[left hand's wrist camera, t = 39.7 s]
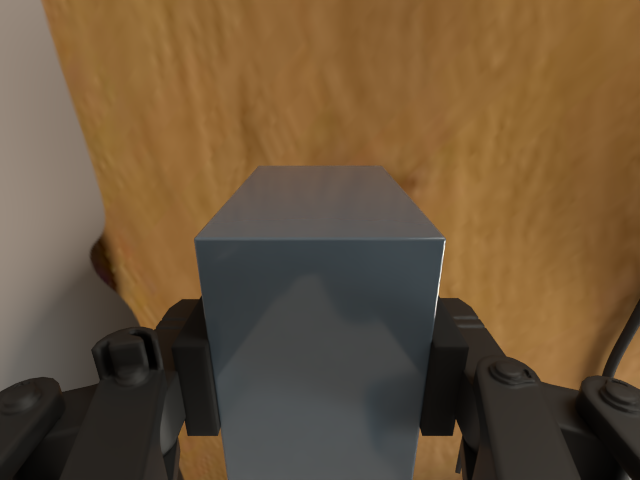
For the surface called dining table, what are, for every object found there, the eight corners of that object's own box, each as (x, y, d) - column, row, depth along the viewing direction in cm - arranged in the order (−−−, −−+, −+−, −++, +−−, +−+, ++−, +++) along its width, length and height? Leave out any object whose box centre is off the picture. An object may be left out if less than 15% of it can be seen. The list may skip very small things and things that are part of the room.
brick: (257, 165, 15) (192, 238, 7) (382, 165, 15) (447, 238, 7) (268, 323, 18) (229, 494, 10) (372, 323, 18) (411, 494, 10)
